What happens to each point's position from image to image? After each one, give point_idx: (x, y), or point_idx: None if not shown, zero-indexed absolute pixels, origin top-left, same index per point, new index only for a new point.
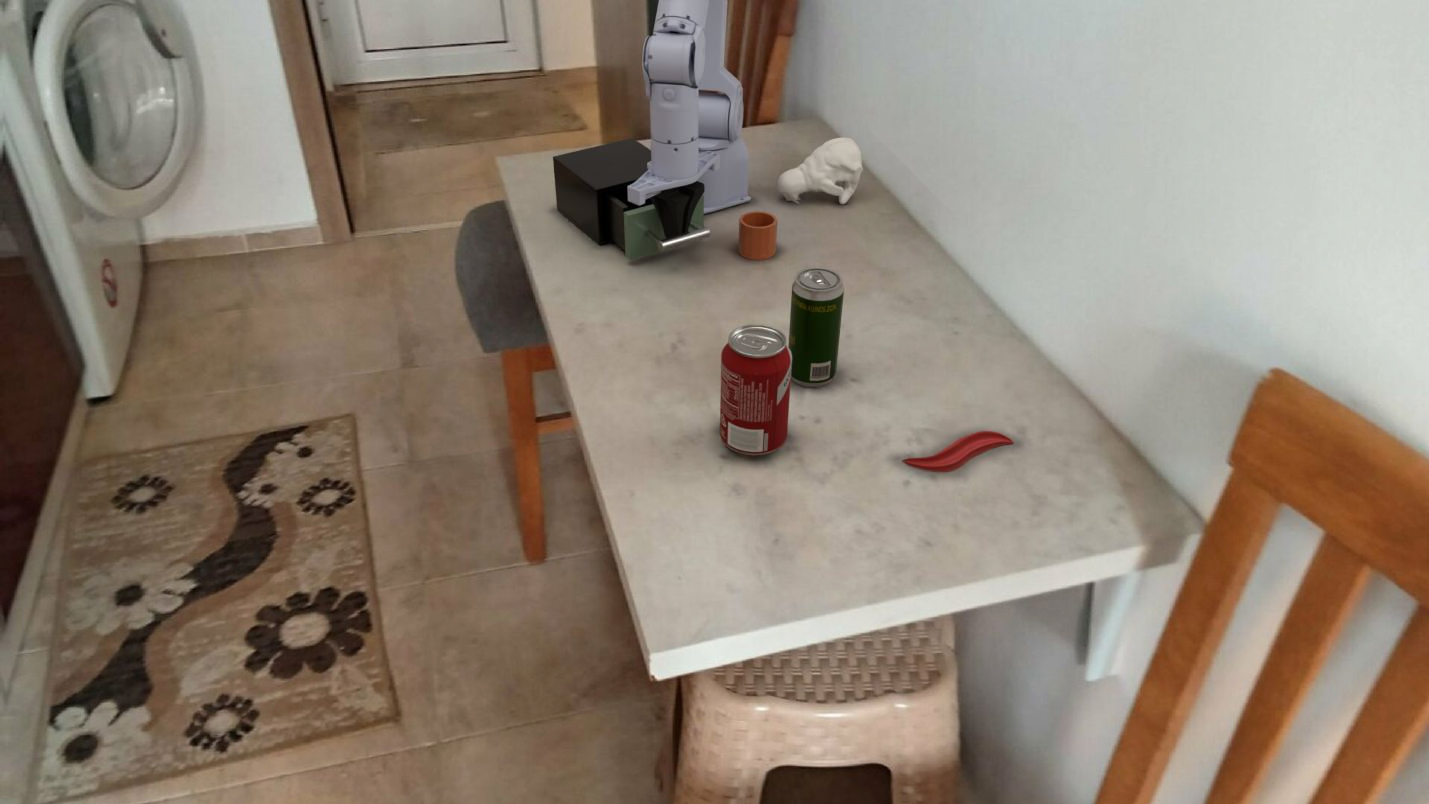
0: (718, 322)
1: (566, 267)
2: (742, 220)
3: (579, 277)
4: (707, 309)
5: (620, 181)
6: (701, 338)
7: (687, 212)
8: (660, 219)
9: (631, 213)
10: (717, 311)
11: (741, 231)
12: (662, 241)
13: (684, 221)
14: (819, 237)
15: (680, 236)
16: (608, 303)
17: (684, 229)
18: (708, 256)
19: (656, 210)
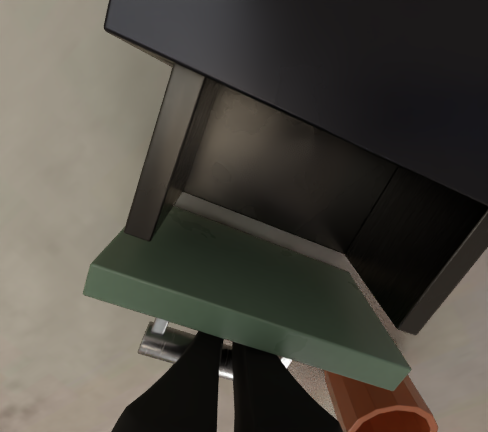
0: (112, 422)
1: (27, 75)
2: (370, 417)
3: (22, 143)
4: (130, 396)
5: (295, 84)
6: (58, 425)
7: (234, 428)
8: (196, 335)
9: (104, 294)
10: None
11: (346, 401)
12: (142, 353)
13: (234, 385)
14: (458, 409)
15: None
16: (4, 267)
17: (232, 365)
18: None
19: (180, 356)
